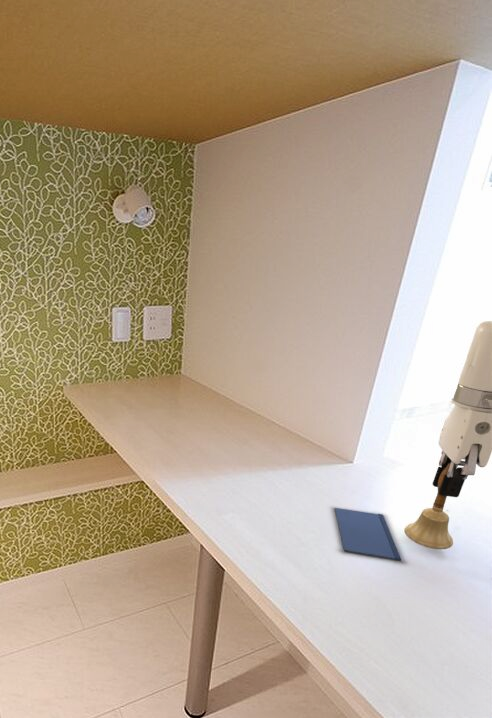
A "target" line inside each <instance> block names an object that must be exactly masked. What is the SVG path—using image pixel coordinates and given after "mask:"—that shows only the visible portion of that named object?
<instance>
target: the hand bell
mask: <svg viewBox="0 0 492 718" xmlns="http://www.w3.org/2000/svg"><path fill="white" fill-rule="evenodd" d="M450 464H451V463H449V464H448V465H447V467H446V468H445V469H444V470H443V471H442V473H441V475H440V477H439V480H438V487H437V493H436V497H435V499H434V501H433V505H432V507H428V508H427V507H426V508H424V509H423V510H422V511H421V512H420V515H419V517H418V518H417V519H416V521H414V522H412V523H409V524H407V525H406V526H405V527H404V534H405V536H406V537H407V538H408V539H410V541H412V542H414V543H416V544H417V545H420V546H422V547H425V548H428V549H434V550H447V549H450V548H452V547H453V546H454V540H453V537H452V535H451V534H450V532H449V521H450V516H449V515H448V513H446V512H445V511H444V508H445V504H446V500H447V497H448V496H443V495H439V493H438V491H439V488H440V485H441V483H442V480H443V477H444V475H447V473H448V470H449V467H450Z"/></svg>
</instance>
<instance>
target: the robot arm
mask: <svg viewBox="0 0 492 718" xmlns="http://www.w3.org/2000/svg"><path fill="white" fill-rule="evenodd" d="M450 403H452V404H451V406H450V408H449V411H448V413H447V415H446V417H445V421H444V423H443V425H442V428H441V431H440V434H439V439H438V446H439V448H440V449H441V456H440V459H439V461H438V467H437V469H436V472H435V475H434V478H433V481H432V486H433V487H434V488H438V480H439V477H440V475H441V473H442V471H443V470H444V469H445V468H446V467H447V465H448V464H449V463H451V464H450V467H449V470H448V473H447V475H444V477H443V480H442V483H441V485H440V488H439V491H438V490H437V493H439V495H443V496H447V497H452V498H458V497H460V493H461V491H462V489H463V486H464V484H465V481H466V480H467V479H468V477H469V476H475V474H476V469H477V466H478V467H480V468H485V467H486V466H487V465H488V463H489V460H490V458H491V455H492V319H486V320H483V321H481V322H479V323H478V324H477V325H476V327H475V329H474V331H473V334H472V337H471V339H470V343H469V346H468V349H467V351H466V354H465V357H464V360H463V363H462V366H461V369H460V371H459V374H458V378H457V381H456V383H455V386H454V389H453V392H452V395H451V397H450Z"/></svg>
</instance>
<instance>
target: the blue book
mask: <svg viewBox="0 0 492 718" xmlns="http://www.w3.org/2000/svg"><path fill="white" fill-rule="evenodd" d="M334 512H335V516H336V521H337V525H338V530H339V534H340V539H341V543H342V547H343V551H344V552H347V553H353V554H360V555H366V556H372V557H377V558H384V559H389V560H395V561H401V562H402V558H401V555H400V553H399V551H398V548H397V546H396V542H395V540H394V538H393V536H392V533H391V531H390V528H389V526H388V523H387V520H386V518H385V516H384V514H383V513H374V512H373V513H372V512H367V511H366V512H365V511H359V510H353V509H346V508H338V507H334Z"/></svg>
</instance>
